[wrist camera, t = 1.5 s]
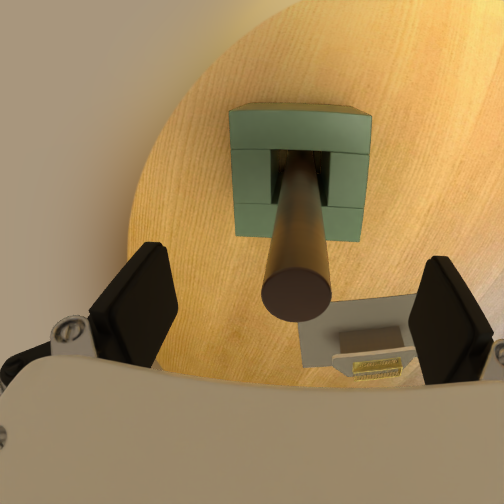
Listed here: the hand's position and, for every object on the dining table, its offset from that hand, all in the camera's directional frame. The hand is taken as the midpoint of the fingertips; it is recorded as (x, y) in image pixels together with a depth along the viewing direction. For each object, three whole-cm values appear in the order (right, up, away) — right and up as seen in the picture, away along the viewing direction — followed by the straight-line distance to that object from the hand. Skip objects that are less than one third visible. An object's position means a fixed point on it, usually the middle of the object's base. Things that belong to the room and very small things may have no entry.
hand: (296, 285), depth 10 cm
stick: (+3, +10, +16) cm, 19 cm away
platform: (+13, -9, +26) cm, 30 cm away
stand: (+3, +10, +16) cm, 19 cm away
